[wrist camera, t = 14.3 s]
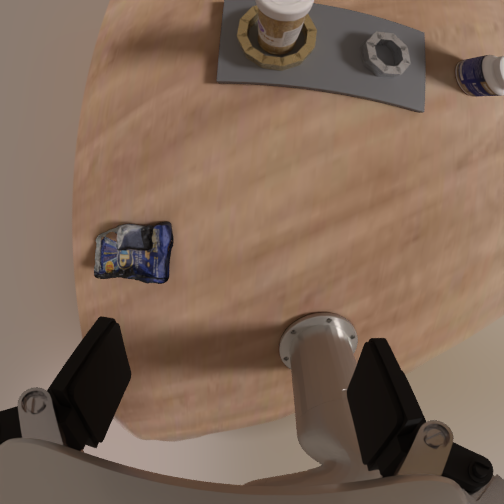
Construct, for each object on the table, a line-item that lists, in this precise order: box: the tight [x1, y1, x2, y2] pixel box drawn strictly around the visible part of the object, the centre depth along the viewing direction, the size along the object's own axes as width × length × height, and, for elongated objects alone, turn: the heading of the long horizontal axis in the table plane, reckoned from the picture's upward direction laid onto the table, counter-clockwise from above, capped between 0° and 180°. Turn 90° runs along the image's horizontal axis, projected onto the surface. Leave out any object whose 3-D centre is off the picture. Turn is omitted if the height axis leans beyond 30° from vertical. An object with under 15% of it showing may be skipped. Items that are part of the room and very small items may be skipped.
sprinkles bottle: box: [256, 0, 314, 55], centre depth 21 cm, size 5×5×13 cm
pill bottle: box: [455, 55, 504, 96], centre depth 23 cm, size 6×6×10 cm
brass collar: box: [237, 5, 317, 71], centre depth 26 cm, size 8×8×2 cm
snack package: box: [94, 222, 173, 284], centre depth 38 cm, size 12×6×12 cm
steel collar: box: [360, 32, 411, 78], centre depth 26 cm, size 6×6×2 cm
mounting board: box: [217, 0, 425, 113], centre depth 28 cm, size 26×12×2 cm, turn 86°
